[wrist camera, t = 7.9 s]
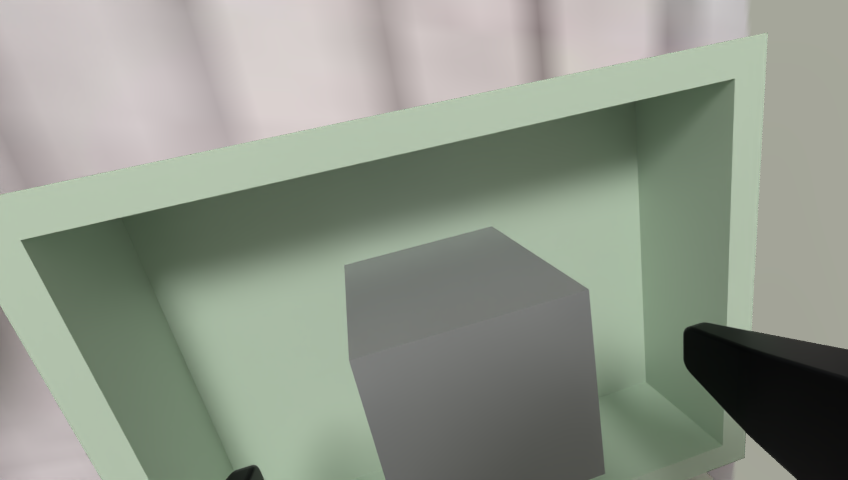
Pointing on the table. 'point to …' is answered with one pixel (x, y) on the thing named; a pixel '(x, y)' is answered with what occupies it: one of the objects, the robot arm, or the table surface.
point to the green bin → (385, 233)
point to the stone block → (474, 362)
